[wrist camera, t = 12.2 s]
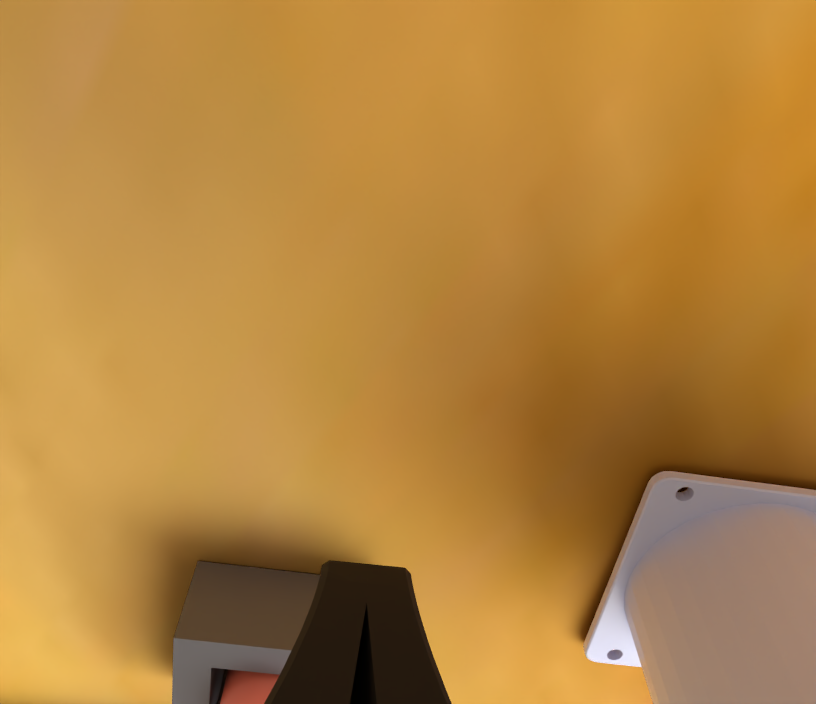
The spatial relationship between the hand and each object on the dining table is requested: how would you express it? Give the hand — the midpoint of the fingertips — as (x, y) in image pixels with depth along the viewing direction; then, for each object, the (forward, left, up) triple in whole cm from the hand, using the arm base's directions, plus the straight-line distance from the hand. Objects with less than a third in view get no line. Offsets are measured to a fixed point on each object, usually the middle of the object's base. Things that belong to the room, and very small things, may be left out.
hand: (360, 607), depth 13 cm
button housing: (+1, +12, -9) cm, 15 cm away
